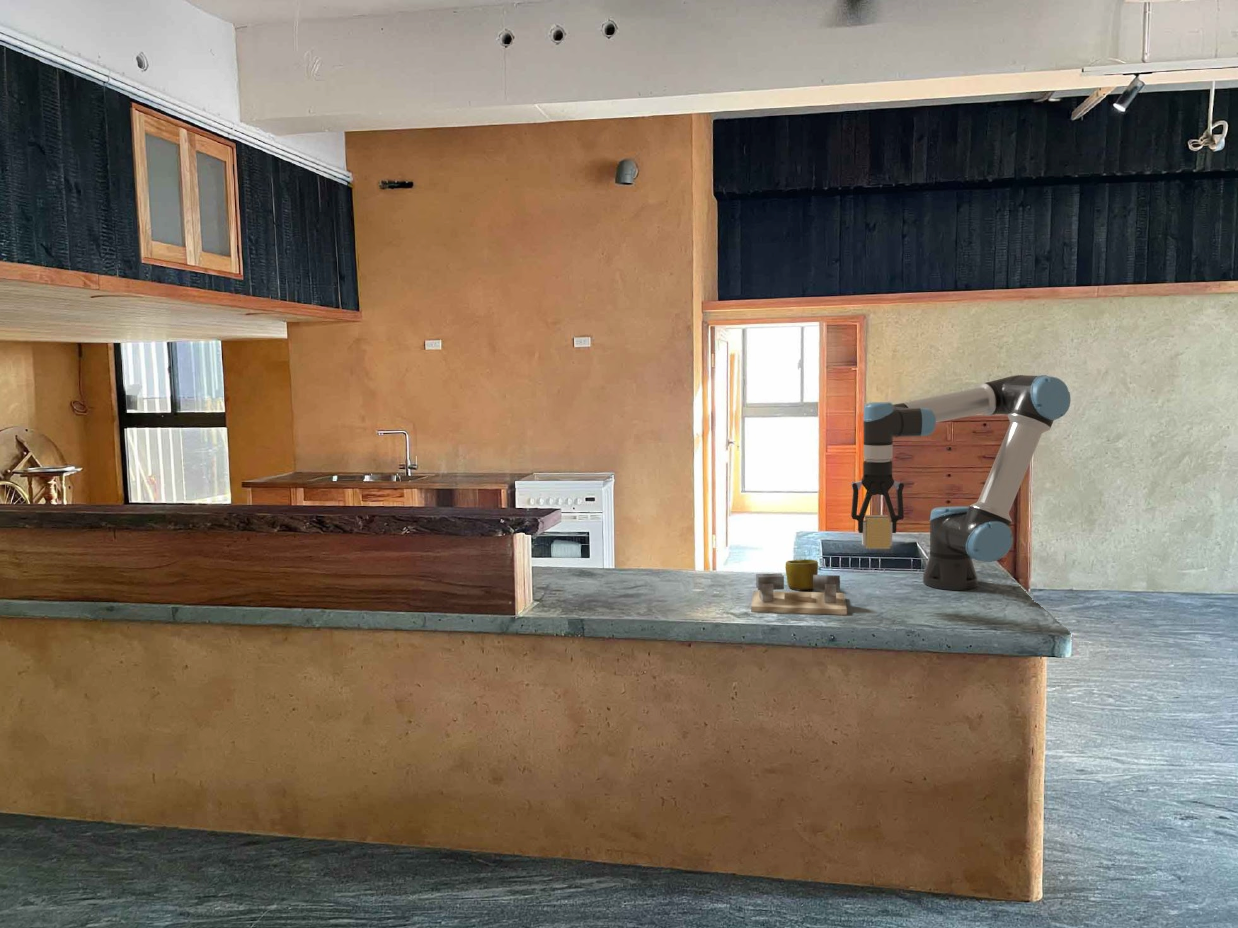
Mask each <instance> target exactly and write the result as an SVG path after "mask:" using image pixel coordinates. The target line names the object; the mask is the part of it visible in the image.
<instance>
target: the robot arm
mask: <svg viewBox="0 0 1238 928" xmlns="http://www.w3.org/2000/svg"><path fill="white" fill-rule="evenodd" d="M1068 388H1069V387H1068V385H1067V384H1066V383H1065V382H1064V381H1063V380H1061V379H1060V378H1058V377H1056V376H1051V375H1050V376H1049V375H1046V374H1043V375H1027V374H1026V375H1025V374H1024V375H1022V374H1020V375H1019V374H1017V375H1011V376H1006V377H1003V378H999V379H994V380H991V381H987V382H984V383H983V382H982V383H979V384H978V385H977V386H976V388H975V387H974V388H971V389H965V390H960V391H955V392H950V393H945V394H941V395H936V396H931V397H924V398H920V399H916V400H915V399H914V400H910V401H905V402H902V403H901V402H900V403H896V404H895V403H894V404H893V403H892V402H887V401H886V402H885V401H883V402H881V401H880V402H879V401H877V402H876V401H872V402H867V403H865V405H864V408H863V416H862V417H863V418H862V421H863V450H862V451H863V454H862V455H863V456H862V457H863V459H864V461H863V462H862V468H863V469H862V473H863V474H862V478H861V480H859V481H856V482H855V481H852V482H851V487H852V499H851V500H852V501H851V502H852V503H851V513H850V517H851V519H853V520H855V521H857V531H858V533H859V534H861V545H862V547H865V546H866V521H865V515H867V511H868V509H869V505H870V502H871V499H872V497H873V496H877V495H880V496H883V499H884V502H885V504H886V507H887V510H888V514H889V518H890V547H893V534H897V525H898V521H901V520H904V518H905V515H904V499H903V490H904V487H905V484H904V483H903V482H902V481H896V480H894V477H893V462H892V459H893V455H894V454H893V450H894V449H893V444H894V443H893V442H894V441H893V439H894V438H902V437H903V438H904V437H905V438H906V437H919V438H921V437H924V436H925V437H926V436H930V435H932V434H933V433H934V431H935V429H936V425H937V423H941V422H946V421H951V420H956V419H961V418H966V417H967V418H968V417H971V416H977V415H980V414H981V415H983V416H986V417H989V416H993V415H1007V418H1008V422H1009V425H1008V428H1007V430H1006V433H1005V435H1004V438H1003V440H1002V442H1001V445H1000V447H999V450H998V452H997V454H996V456H995V459H994V462H993V465H992V466H991V469H990V472H989V474H988V476H987V478H986V481H985V482H984V486H983V488H982V490H981V493H980V495H979V497H978V500H977V501H976V502H975V503H972V504H970V505H969V506H963V505H962V506H940V507H939V506H938V507H935V508H933V509H931V512H930V516H929V517H930V518H929V523H930V524H929V525H930V526H929V558H928V560H927V564H926V566H925V569H924V572H923V575H922V584H924V585H926V586H928V587H930V588H935V589H940V590H946V591H948V590H950V591H966V590H973V589H975V588H977V587H978V584H979V583H978V576H977V571H976V569H975V568H976V567H975V565H974V563H973V560H974V561H975V560H976V561H980V562H984V563H992V562H996V561H999V560H1001V559H1003V558H1004V557H1005V556H1006V555H1007V554H1008V553H1009V551H1010V550H1011V548H1012V545H1013V542H1014V538H1013V535H1012V534H1013V533H1012V532H1013V531H1012V530H1011V528H1010V526H1011V524H1012V523H1013V522H1012V521H1013V520H1012V518H1011V516H1010V511H1011V509H1012V507H1013V504H1014V502H1015V499H1016V497H1017V494H1018V492H1019V489H1020V487H1021V485H1022V482H1023V481H1024V478H1025V475H1026V473H1027V471H1028V467H1029V465H1030V463H1031V461H1032V459H1033V456H1034V453H1035V452H1036V448H1037V446H1038V443H1039V441H1040V439H1041V437H1042V434H1043V433H1046V432H1048V431H1050V430H1051V429H1052V425H1053V423H1054V421H1055V420H1058V419H1061V418H1062V417H1064V416H1065V415H1066V414H1067V413H1068V411H1069V409H1070V406H1071V393H1070V391H1069V389H1068ZM861 486H863V488H864V489H865V490H866V492H865V495H864V496H865V497H864V499H863V502H862V505H861V508H860V511H859V513H858V507H859V506H858V504H859V491H860V490H861ZM893 486H894V489H895V490H896V494H895V495H896V505H897V506H896V507H897V509H896V510H897V514H896V513H895V512H896V511H895V509H894V507H893V503H892V499H891V498H890V493H889V491H890V490H891V488H892V487H893Z"/></svg>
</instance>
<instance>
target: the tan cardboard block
mask: <svg viewBox="0 0 1238 928" xmlns="http://www.w3.org/2000/svg"><path fill="white" fill-rule="evenodd" d="M864 520H865V521H866V546H864V547H865V548H866V549H870V550H873V549H877V550H878V549H879V550H881V549H884V550H890V549H891V546H890V520H891V517H890V516H889V515H887V514H876V515H875V514H865V517H864Z"/></svg>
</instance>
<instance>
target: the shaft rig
mask: <svg viewBox="0 0 1238 928" xmlns="http://www.w3.org/2000/svg"><path fill="white" fill-rule="evenodd" d="M755 575H756V576H755V577H756V578H755V580H756V581H755V585H756V586H755V587H756V588H757V590H753V594H752V599H751V604H750V610H751V613H778V614H779V613H780V614H781V613H782V614H809V615H810V614H811V615H813V614H815V615H838V616H839V615H842V616H845V615H848V608H847V604H846V598H845V593H843V592H837V591H840V590H841V577H840V575H839V574H838V575H835V574H834V575H830V574H818V575H813V589H812V590H815V591H816V590H818V591H819V592H815V591H812V592H811V591H810V592H809V591H784V589H785V576H784V574H783V573H778V572H777V573H756V574H755ZM775 590H776V591H775ZM778 590H780V591H778ZM820 591H823V592H820Z"/></svg>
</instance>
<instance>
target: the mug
mask: <svg viewBox="0 0 1238 928" xmlns="http://www.w3.org/2000/svg"><path fill="white" fill-rule="evenodd" d="M818 571H819V563H818V561H817V560H815V559H809V558H808V559H806V558H804V559H801V558H799V559H792V560H787V561H786V562H785V574H786V575H785V576H786V581H787V585H788V588H789V589H790V590H793V591H807V590H813V575H819V574H818Z"/></svg>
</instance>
